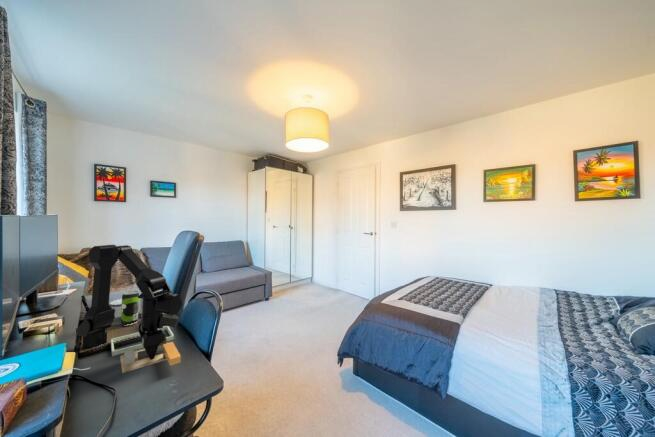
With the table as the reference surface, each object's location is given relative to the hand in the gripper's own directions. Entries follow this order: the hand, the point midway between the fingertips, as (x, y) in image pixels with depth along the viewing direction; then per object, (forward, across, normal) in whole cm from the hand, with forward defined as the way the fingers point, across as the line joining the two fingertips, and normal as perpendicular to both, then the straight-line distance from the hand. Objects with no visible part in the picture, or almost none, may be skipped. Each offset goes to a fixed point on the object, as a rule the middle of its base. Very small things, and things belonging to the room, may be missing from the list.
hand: (150, 353), depth 88 cm
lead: (+1, 0, 0) cm, 1 cm away
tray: (+2, +14, 0) cm, 14 cm away
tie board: (+2, 0, 0) cm, 2 cm away
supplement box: (+2, +47, -6) cm, 47 cm away
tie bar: (-2, -11, -5) cm, 12 cm away
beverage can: (+2, +39, +3) cm, 39 cm away
